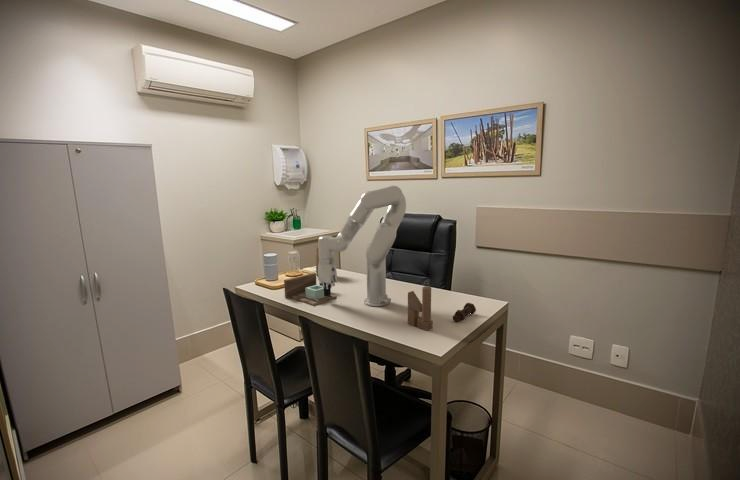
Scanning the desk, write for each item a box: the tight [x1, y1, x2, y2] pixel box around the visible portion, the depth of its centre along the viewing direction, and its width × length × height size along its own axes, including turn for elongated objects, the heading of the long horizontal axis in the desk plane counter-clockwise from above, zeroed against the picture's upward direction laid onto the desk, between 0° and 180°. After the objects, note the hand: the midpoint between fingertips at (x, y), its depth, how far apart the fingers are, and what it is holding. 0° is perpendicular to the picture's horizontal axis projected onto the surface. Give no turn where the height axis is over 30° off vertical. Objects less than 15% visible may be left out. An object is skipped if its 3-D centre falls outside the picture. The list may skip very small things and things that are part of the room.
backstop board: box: [283, 272, 338, 307], centre depth 191 cm, size 24×20×10 cm
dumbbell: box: [451, 302, 477, 323], centre depth 160 cm, size 6×5×15 cm
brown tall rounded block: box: [315, 247, 319, 278], centre depth 231 cm, size 11×8×20 cm
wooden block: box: [407, 285, 434, 332], centre depth 150 cm, size 4×11×18 cm, turn 44°
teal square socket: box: [305, 284, 326, 300], centre depth 188 cm, size 8×8×5 cm
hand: (327, 295), depth 182 cm, fingers closed
